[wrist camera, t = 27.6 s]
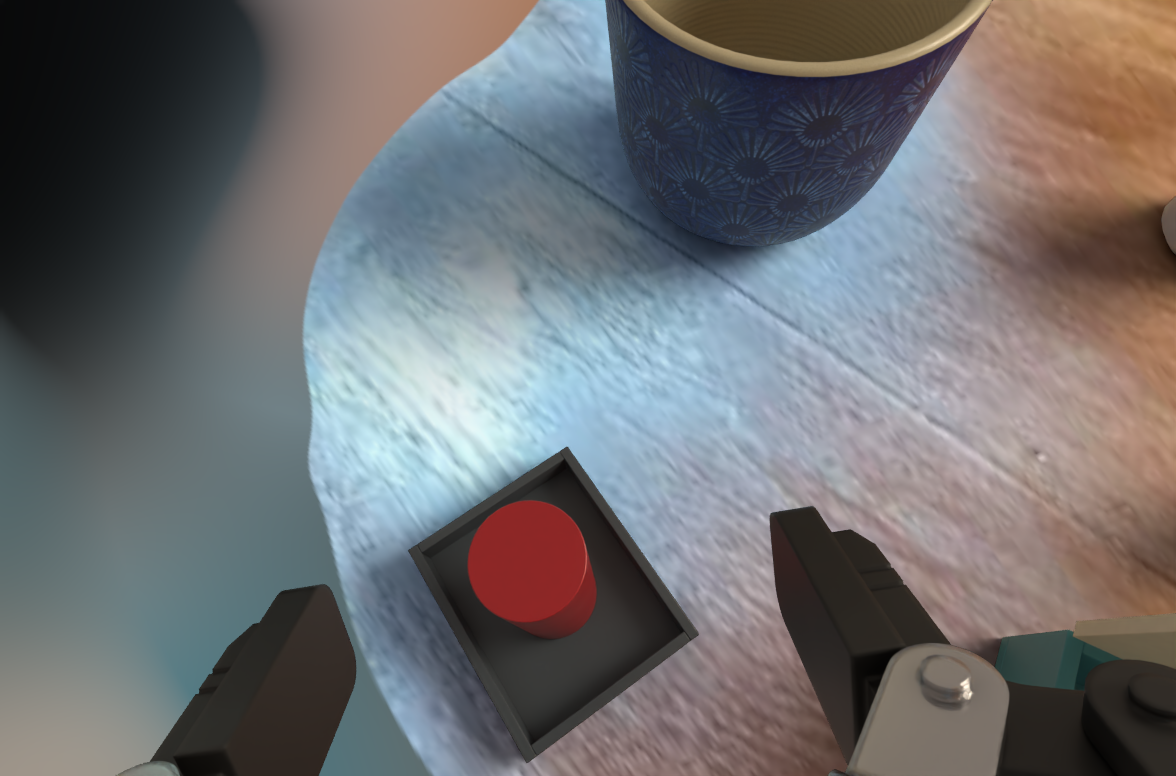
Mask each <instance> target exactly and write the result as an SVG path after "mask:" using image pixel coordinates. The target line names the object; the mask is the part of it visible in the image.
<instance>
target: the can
mask: <svg viewBox="0 0 1176 776" xmlns="http://www.w3.org/2000/svg"><path fill="white" fill-rule="evenodd" d="M1161 222H1162V228H1163V233H1164V235H1165V238H1166V241H1167V243H1168V245H1169V247H1170V248H1171V250H1172V251H1173V252H1174V254H1175V255H1176V196H1175V197H1174V198H1173V199H1172V200H1171V201H1170V202H1169V203H1168V204H1167V205H1166V206H1165V208H1164V211H1163V214H1162V218H1161Z"/></svg>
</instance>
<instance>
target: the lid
mask: <svg viewBox="0 0 1176 776" xmlns="http://www.w3.org/2000/svg"><path fill="white" fill-rule="evenodd" d="M1073 637H1075V638H1077V639H1079V640H1082V641H1084V642H1086V643H1088V644H1090V645H1092V646H1095V647H1097V648H1099V649H1101V650H1103V651H1106V652H1108V653H1110V654H1112V655H1114V656H1116V657H1119V658H1121V659H1123V660H1124V659H1131V660H1142V661H1148V662H1154V663H1158V664H1161V665H1165V666H1168V667H1171V668H1174V669H1176V613H1173V614H1160V615H1148V616H1135V617H1123V618H1111V619H1098V620H1086V621H1077V622H1076V625H1075V629H1074V633H1073Z"/></svg>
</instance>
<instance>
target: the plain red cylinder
mask: <svg viewBox="0 0 1176 776" xmlns="http://www.w3.org/2000/svg"><path fill="white" fill-rule="evenodd" d="M467 566H468V575H469V580H470V583H471V586H472V589H473V591H474V592H475V594H476V596H477V598H478V599H479V600H480V602H481V603H482V604H483V605H484V606H485V607H486V608H487V609H488V610H489V611H491V612H492V613H494V614H495V615H497V616H499V617H500V618H502V619H504V620H506V621H508V622H510V623H512V624H514V625H516V626H517V627H519V628H521V629H523V630H525V631H527V632H529V633H531V634H533V635H535V636H537V637H540V638H544V639H559V638H563V637H567V636H569V635H571V634H573V633H575V632H576V631H578V630H579V629H580V628H581V627H582V626H583V625H584V624H585V623H586V622H587V621H588V619H589V618H590V616H591V614H592V612H593V609H594V607H595V603H596V596H597V588H596V582H595V578H594V575H593V571H592V567H591V563H590V560H589V556H588V552H587V549H586V545H585V541H584V538H583V536H582V533H581V531H580V530H579V528H578V526H577V525H576V523H575V522H574V521H573V520H572V518H571V517H569V516H568V515H567V514H566V513H565V512H564V511H562V510H561V509H559V508H557V507H555V506H554V505H551V504H548V503H545V502H541V501H533V500H529V501H519V502H515V503H511V504H508V505H506V506H504V507H502V508H500V509H498V510H497V511H495V512H494V513H493V514H491V515H490V516H489V517H488V518H487V519H486V520H485V521H484V522H483V523H482V524H481V526H480V527H479V528H478V530H477V532H476V533H475V535H474V538H473V540H472V542H471V545H470V549H469V554H468V565H467Z"/></svg>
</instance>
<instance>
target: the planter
mask: <svg viewBox="0 0 1176 776" xmlns="http://www.w3.org/2000/svg"><path fill="white" fill-rule="evenodd" d="M992 1H993V0H605V2H606V12H607V21H608V31H609V41H610V51H611V61H612V70H613V80H614V90H615V100H616V110H617V119H618V126H619V132H620V137H621V141H622V145H623V148H624V152H625V155H626V157H627V160H628V163H629V165H630V168H631V170H632V172H633V174H634V176H635V178H636V180H637V181H638V183H639V185H640V187H641V188H642V189H643V191H644V192H645V194H646V195H647V197H648V198H649V199H650V200H651V201H652V202H653V204H654V205H655V206H656V207H657V208H658V209H659V210H660V211H661V212H662V213H663V214H664V215H665V216H667V217H668V218H669V219H670V220H672V221H673V222H674V223H676V224H678V225H679V226H681V227H682V228H684V229H686V230H688V231H690V232H692V233H694V234H696V235H699V236H702V237H704V238H707V239H710V240H713V241H717V242H721V243H726V244H731V245H741V246H766V245H774V244H781V243H785V242H789V241H793V240H796V239H799V238H802V237H805V236H807V235H809V234H811V233H813V232H816V231H818V230H820V229H822V228H823V227H825V226H827V225H828V224H830V223H832V222H833V221H835V220H836V219H838V218H839V217H840V216H842V215H843V214H844V213H846V212H847V211H848V210H849V209H851V208H852V207H853V206H854V205H855V204H856V203H857V202H858V201H859V200H860V199H861V198H862V197H864V196H865V195H866V193H867V192H868V191H869V190H870V189H871V188H872V187H873V185H874V184H875V183H876V182H877V181H878V179H879V178H880V177H881V175H882V174H883V173H884V171H885V170H886V168H887V167H888V165H889V164H890V162H891V161H892V159H893V157H894V156H895V154H896V153H897V151H898V150H899V148H900V146H901V145H902V143H903V142H904V140H905V138H906V137H907V135H908V134H909V132H910V131H911V129H912V127H913V126H914V124H915V123H916V121H917V119H918V118H919V116H920V115H921V113H922V112H923V110H924V108H925V107H926V105H927V104H928V102H929V101H930V99H931V97H932V96H933V94H934V93H935V91H936V89H937V88H938V86H939V85H940V83H941V82H942V80H943V78H944V77H945V75H946V74H947V72H948V71H949V69H950V67H951V66H952V64H953V63H954V61H955V59H956V58H957V56H958V55H959V53H960V52H961V50H962V48H963V47H964V45H965V44H966V42H967V40H968V39H969V37H970V36H971V34H972V33H973V31H974V29H975V28H976V26H977V25H978V23H979V22H980V20H981V18H982V17H983V15H984V14H985V12H986V10H987V9H988V7H989V6H990V4H991V2H992Z"/></svg>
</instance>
